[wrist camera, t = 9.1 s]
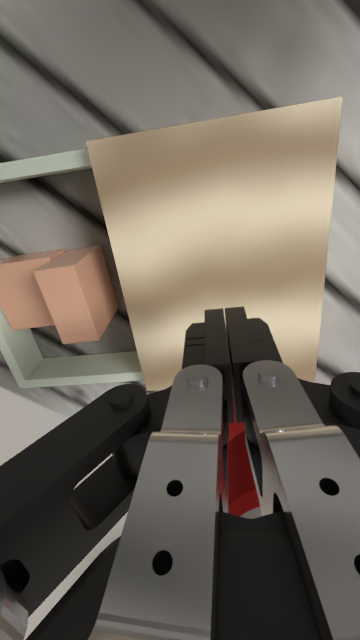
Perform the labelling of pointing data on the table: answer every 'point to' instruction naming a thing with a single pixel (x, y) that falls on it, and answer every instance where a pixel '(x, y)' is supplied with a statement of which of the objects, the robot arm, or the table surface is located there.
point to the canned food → (240, 475)
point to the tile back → (24, 290)
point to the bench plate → (222, 227)
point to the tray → (21, 343)
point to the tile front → (78, 294)
